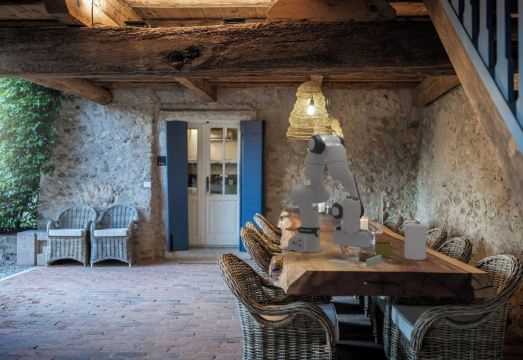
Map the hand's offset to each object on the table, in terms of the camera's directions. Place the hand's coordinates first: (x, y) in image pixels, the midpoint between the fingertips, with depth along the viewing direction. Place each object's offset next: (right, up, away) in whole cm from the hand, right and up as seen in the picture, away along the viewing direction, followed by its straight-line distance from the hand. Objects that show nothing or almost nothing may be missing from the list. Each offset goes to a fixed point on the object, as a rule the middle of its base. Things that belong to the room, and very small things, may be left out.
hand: (351, 254), depth 240 cm
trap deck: (+1, -4, -4) cm, 6 cm away
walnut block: (+7, -3, -5) cm, 9 cm away
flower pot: (+19, -5, +11) cm, 22 cm away
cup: (+38, -5, +15) cm, 41 cm away
